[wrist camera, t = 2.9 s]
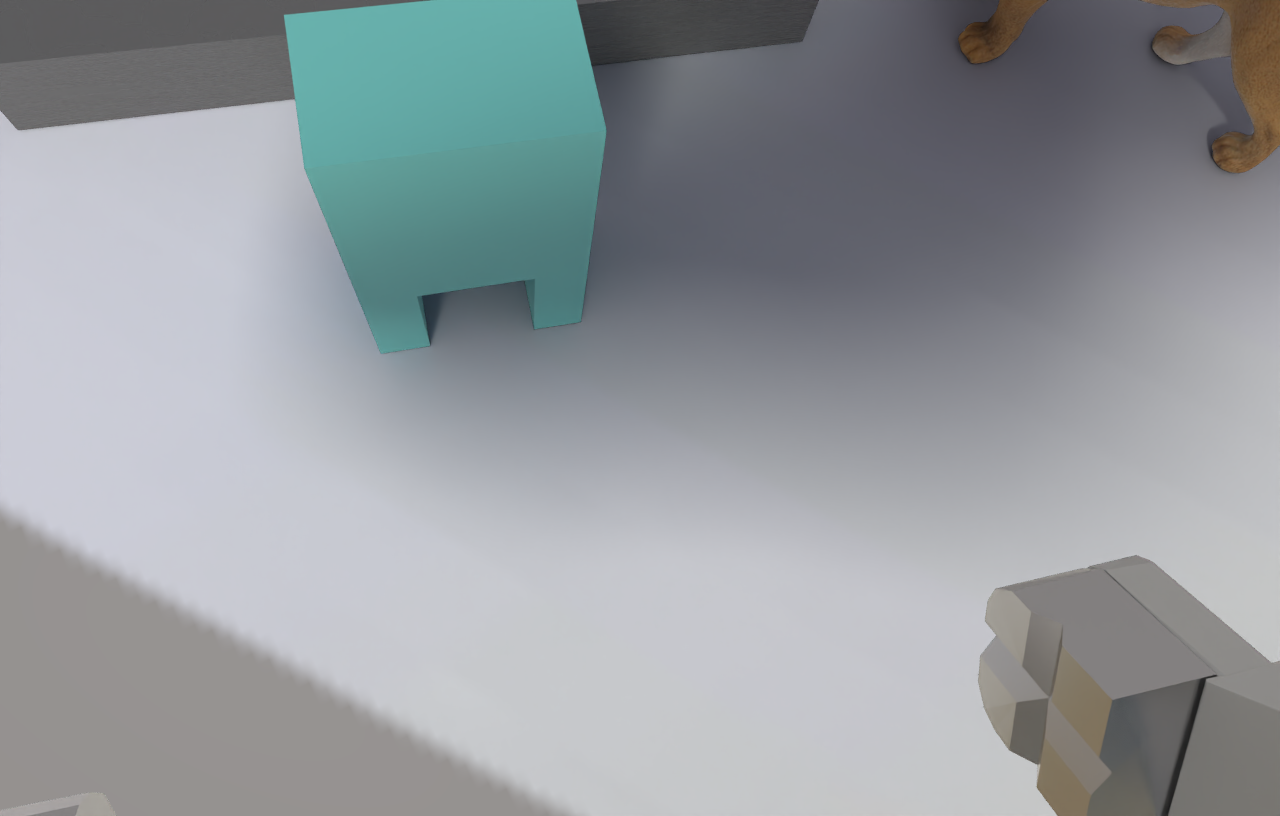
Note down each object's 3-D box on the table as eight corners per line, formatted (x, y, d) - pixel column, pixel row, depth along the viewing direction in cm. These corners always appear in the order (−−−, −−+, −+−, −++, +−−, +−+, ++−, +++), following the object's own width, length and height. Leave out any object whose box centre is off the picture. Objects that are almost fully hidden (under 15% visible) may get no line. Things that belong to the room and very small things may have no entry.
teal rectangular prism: (558, 217, 25) (572, -14, 17) (580, 322, 24) (606, 130, 16) (364, 244, 24) (283, 14, 16) (380, 353, 24) (303, 168, 16)
